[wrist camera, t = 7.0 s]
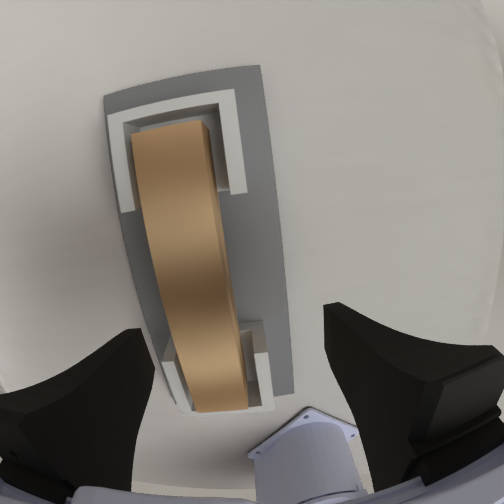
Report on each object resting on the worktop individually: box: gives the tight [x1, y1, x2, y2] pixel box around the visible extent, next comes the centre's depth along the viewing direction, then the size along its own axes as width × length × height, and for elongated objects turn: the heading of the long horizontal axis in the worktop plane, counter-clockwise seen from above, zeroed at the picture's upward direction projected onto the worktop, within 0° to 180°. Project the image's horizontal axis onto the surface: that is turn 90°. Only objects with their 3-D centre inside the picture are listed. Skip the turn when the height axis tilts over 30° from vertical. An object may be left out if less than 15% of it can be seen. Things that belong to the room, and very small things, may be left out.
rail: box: [131, 120, 248, 413], centre depth 16 cm, size 16×3×4 cm, turn 7°
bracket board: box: [104, 65, 294, 417], centre depth 18 cm, size 24×10×5 cm, turn 7°
